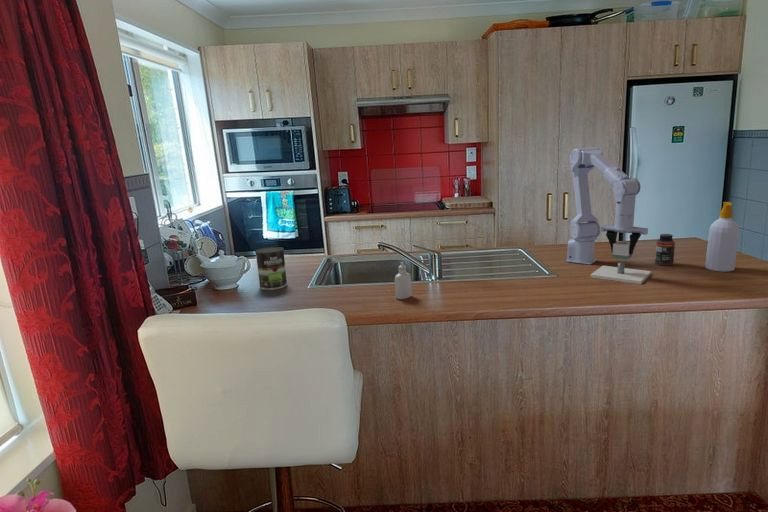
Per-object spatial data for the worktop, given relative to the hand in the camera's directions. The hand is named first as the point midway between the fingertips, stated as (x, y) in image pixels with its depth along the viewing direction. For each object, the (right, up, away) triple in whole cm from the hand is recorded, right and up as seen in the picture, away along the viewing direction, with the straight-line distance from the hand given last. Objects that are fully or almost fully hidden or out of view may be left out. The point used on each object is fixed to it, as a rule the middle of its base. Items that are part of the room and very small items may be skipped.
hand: (622, 253), depth 162 cm
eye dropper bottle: (-77, -15, -8) cm, 78 cm away
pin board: (0, -8, +2) cm, 8 cm away
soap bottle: (+36, -6, +3) cm, 37 cm away
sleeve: (0, -1, +1) cm, 2 cm away
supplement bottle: (+22, -4, +13) cm, 26 cm away
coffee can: (-125, -13, +13) cm, 126 cm away
